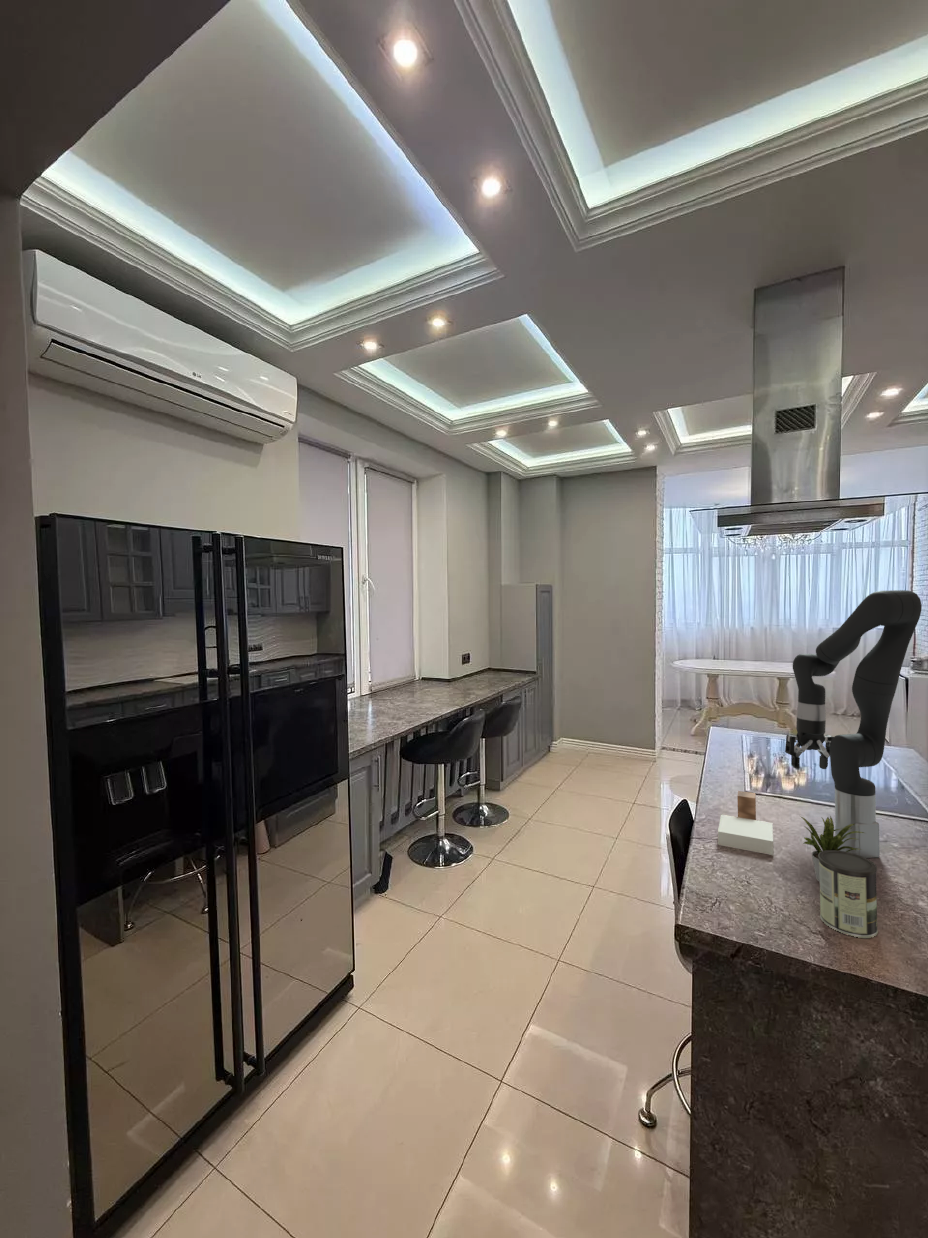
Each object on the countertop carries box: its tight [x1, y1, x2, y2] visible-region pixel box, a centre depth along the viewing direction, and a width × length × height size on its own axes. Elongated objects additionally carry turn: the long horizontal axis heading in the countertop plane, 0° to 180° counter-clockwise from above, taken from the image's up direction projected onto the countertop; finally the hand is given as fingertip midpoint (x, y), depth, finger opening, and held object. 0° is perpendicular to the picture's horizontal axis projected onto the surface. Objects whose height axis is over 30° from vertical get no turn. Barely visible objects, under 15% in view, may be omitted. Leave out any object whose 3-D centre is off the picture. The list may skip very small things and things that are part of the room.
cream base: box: [717, 814, 774, 856], centre depth 152 cm, size 14×14×4 cm
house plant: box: [799, 814, 864, 883], centre depth 127 cm, size 14×14×16 cm
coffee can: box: [818, 850, 879, 939], centre depth 111 cm, size 10×10×14 cm
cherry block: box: [736, 790, 757, 820], centre depth 164 cm, size 5×5×10 cm
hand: (809, 768), depth 159 cm, fingers open, 8 cm apart
